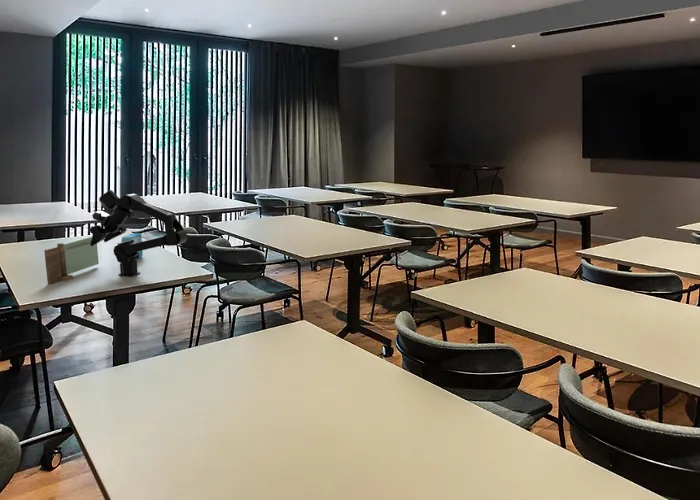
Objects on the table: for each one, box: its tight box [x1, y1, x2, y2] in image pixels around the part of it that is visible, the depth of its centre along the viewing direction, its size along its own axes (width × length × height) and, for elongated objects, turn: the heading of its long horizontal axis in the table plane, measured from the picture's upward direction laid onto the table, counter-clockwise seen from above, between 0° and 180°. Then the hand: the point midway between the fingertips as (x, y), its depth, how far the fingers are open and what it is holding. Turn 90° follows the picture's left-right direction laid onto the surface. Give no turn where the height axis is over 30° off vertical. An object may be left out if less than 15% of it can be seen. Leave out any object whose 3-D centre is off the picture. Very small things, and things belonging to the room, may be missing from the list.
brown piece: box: [44, 242, 74, 285], centre depth 233 cm, size 5×11×15 cm, turn 169°
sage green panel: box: [64, 235, 100, 275], centre depth 248 cm, size 3×22×13 cm, turn 169°
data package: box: [121, 233, 144, 260], centre depth 275 cm, size 12×4×12 cm, turn 176°
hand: (98, 243), depth 246 cm, fingers open, 9 cm apart
